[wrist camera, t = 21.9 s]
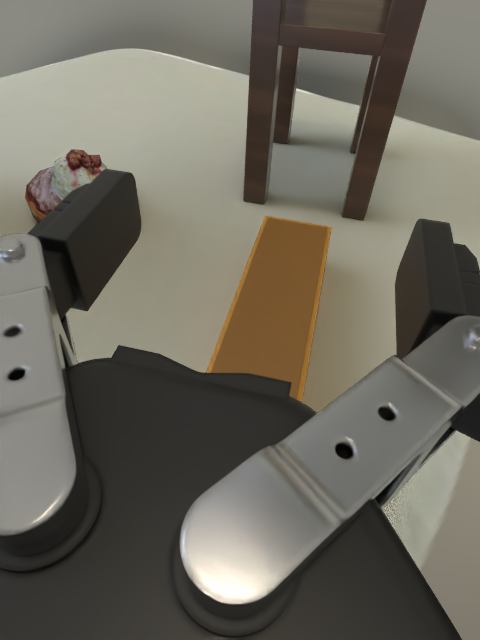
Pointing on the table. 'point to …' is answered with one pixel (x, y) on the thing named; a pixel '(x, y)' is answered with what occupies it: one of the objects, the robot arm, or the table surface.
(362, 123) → the stand
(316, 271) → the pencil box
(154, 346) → the table surface
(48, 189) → the pastry
